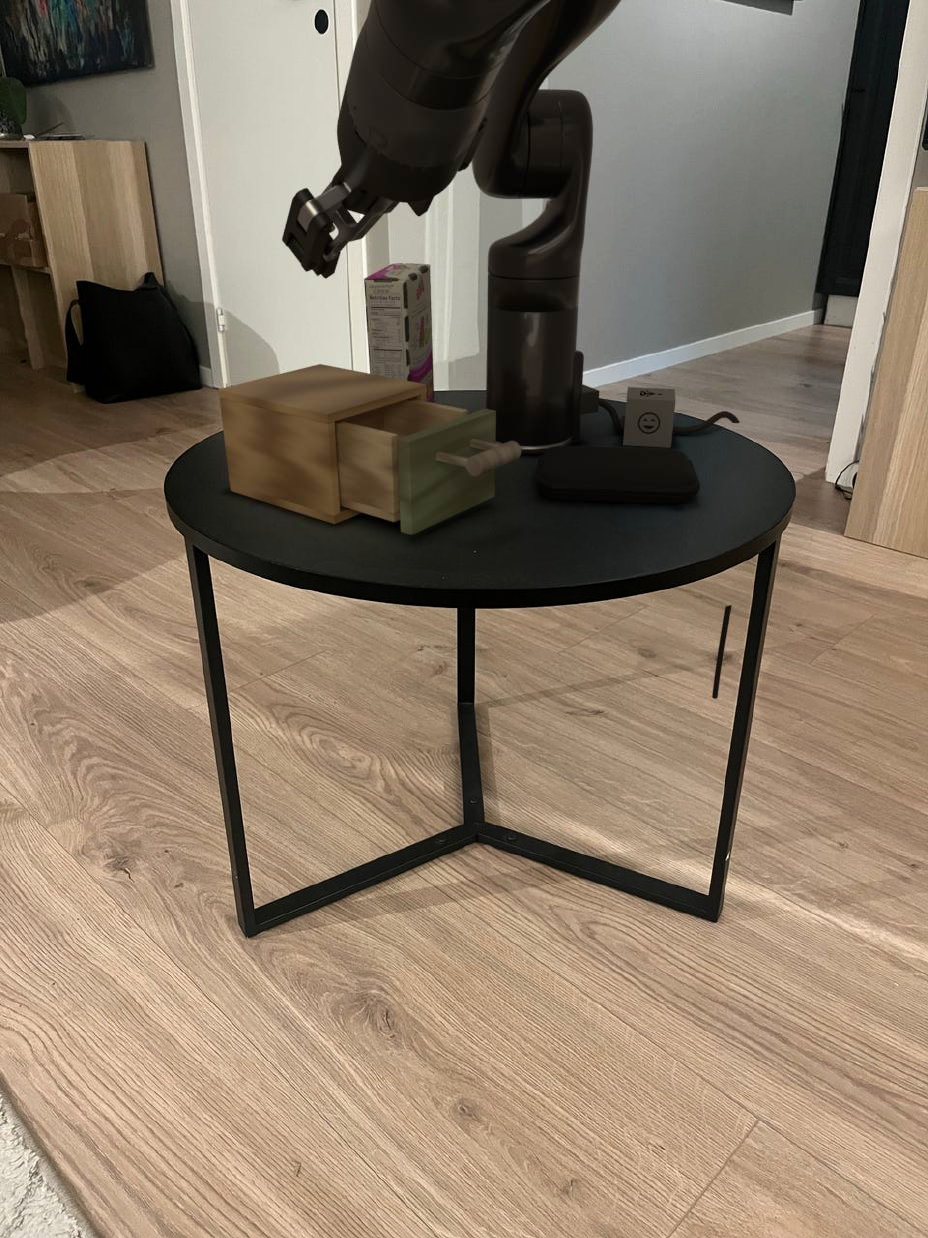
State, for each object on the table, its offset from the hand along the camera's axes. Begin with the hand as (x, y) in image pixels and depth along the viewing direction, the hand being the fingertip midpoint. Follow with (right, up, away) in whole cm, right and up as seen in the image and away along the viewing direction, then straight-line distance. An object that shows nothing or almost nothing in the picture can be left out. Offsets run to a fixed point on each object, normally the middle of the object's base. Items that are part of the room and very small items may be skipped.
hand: (367, 234), depth 68 cm
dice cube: (+27, -8, +36) cm, 45 cm away
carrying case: (+21, -15, +22) cm, 34 cm away
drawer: (+3, -17, +16) cm, 24 cm away
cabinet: (-6, -15, +22) cm, 27 cm away
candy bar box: (0, -4, +44) cm, 44 cm away
